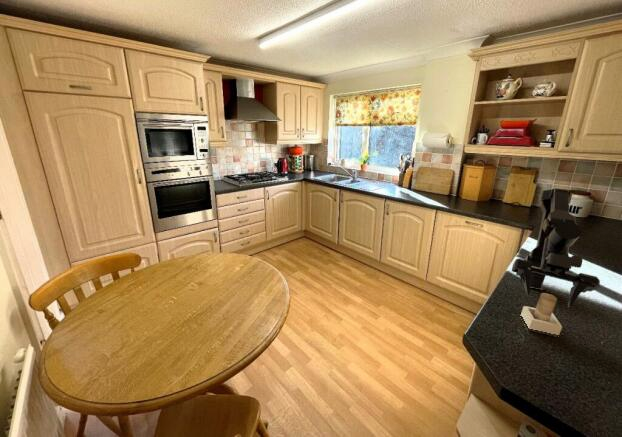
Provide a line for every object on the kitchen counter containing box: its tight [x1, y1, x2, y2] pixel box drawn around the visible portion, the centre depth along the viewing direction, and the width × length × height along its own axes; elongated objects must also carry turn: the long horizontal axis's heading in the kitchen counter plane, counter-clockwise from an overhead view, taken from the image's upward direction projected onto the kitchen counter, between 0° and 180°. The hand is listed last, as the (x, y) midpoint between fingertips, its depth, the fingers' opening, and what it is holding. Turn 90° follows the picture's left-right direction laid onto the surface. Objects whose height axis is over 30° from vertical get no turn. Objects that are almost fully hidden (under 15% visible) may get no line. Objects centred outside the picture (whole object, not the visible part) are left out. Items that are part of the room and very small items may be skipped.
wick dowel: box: [533, 292, 558, 322], centre depth 78 cm, size 4×4×10 cm
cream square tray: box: [520, 305, 563, 336], centre depth 79 cm, size 7×7×4 cm
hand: (548, 301), depth 76 cm, fingers open, 9 cm apart
